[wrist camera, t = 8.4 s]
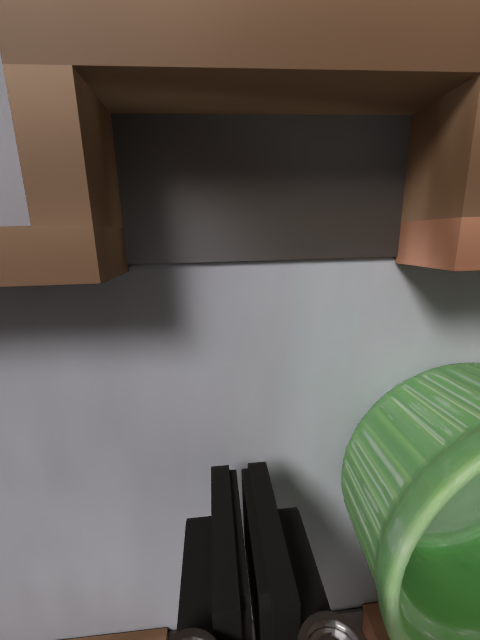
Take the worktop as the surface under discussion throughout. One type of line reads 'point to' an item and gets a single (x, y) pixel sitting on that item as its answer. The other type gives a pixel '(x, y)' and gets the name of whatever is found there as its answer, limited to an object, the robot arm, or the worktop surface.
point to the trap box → (241, 140)
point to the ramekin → (421, 503)
